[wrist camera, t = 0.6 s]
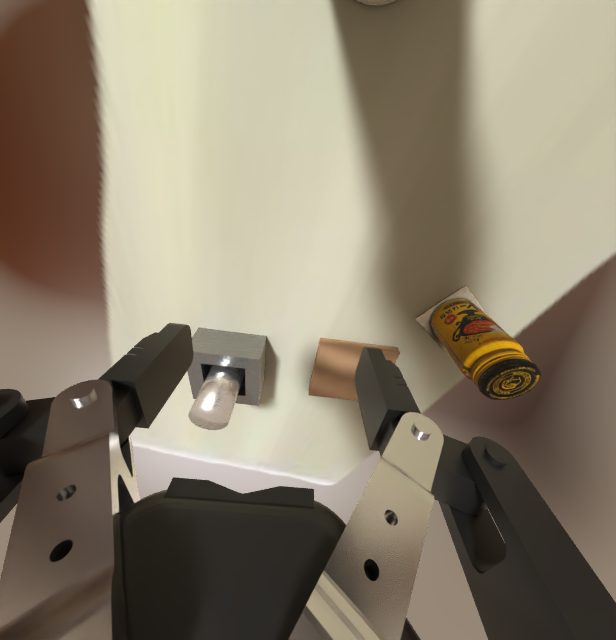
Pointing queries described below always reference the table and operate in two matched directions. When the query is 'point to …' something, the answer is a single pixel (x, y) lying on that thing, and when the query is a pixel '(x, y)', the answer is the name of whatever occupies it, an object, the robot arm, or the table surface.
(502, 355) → the condiment
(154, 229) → the table surface
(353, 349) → the board
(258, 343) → the housing
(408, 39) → the table surface
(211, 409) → the plug
